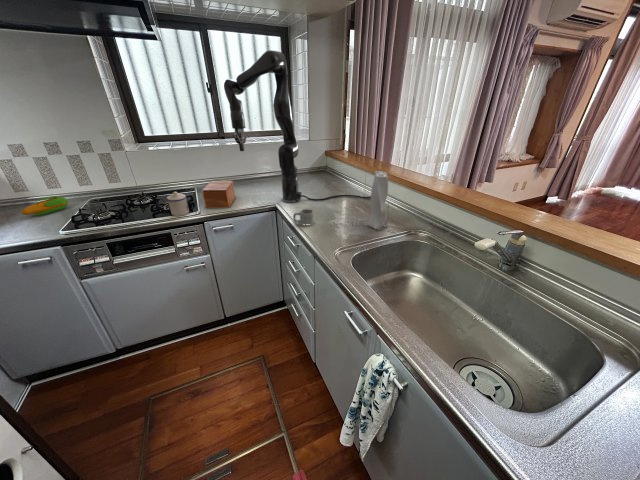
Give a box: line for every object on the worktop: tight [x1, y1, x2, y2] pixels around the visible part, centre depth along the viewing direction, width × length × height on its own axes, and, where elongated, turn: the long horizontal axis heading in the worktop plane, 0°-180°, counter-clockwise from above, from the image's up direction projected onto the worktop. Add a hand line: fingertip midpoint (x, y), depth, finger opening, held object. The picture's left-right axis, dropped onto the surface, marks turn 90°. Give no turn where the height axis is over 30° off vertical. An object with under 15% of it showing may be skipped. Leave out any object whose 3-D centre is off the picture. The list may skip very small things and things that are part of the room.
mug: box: [292, 208, 315, 228], centre depth 132 cm, size 10×7×7 cm
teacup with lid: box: [166, 191, 190, 217], centre depth 141 cm, size 12×9×12 cm
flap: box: [206, 180, 234, 186], centre depth 157 cm, size 8×13×1 cm, turn 94°
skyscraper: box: [367, 170, 390, 232], centre depth 125 cm, size 8×8×28 cm
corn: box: [20, 195, 69, 217], centre depth 140 cm, size 7×8×20 cm
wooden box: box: [201, 181, 236, 209], centre depth 155 cm, size 17×13×10 cm
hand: (242, 151), depth 160 cm, fingers closed
